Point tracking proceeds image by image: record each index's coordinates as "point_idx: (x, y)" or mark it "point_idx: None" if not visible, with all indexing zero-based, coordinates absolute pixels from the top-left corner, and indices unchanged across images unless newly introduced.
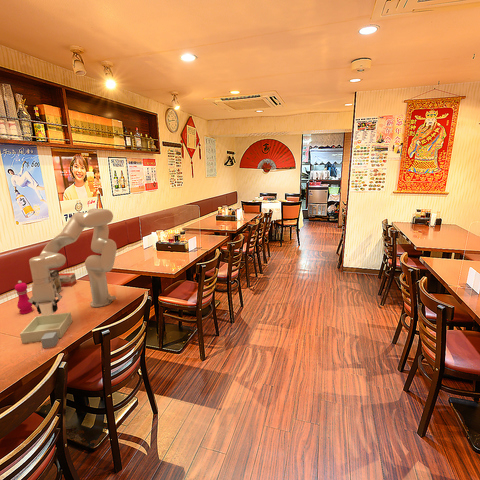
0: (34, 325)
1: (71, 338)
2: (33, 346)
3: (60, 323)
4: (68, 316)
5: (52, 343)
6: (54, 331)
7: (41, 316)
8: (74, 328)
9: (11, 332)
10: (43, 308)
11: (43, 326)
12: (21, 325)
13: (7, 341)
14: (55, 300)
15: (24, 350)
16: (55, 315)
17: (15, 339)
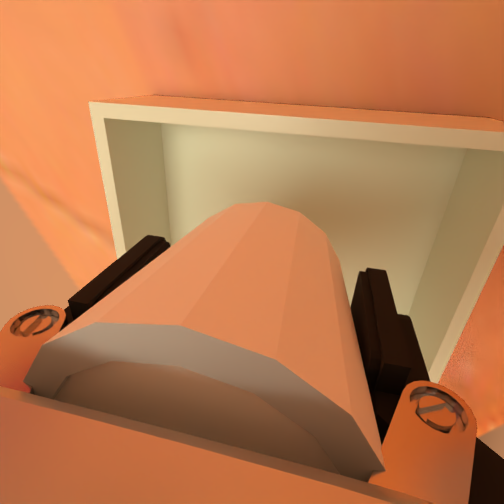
0: (149, 185)
1: (464, 400)
2: None
3: (364, 152)
4: (499, 239)
5: None
6: None
7: (155, 120)
8: (497, 282)
9: (17, 152)
10: None
11: (217, 157)
12: (7, 37)
13: (76, 267)
14: (439, 491)
15: None
16: (319, 135)
17: (108, 263)
